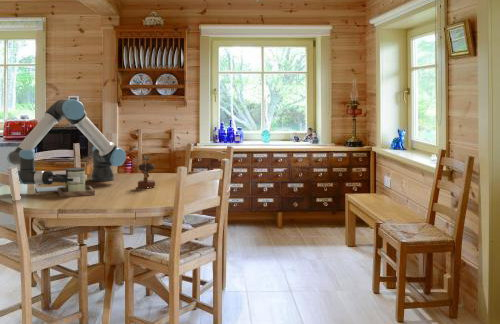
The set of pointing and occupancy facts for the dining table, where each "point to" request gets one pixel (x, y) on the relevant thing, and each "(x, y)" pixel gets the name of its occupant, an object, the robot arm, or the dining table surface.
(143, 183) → the bird automaton toy
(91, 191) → the square wooden tray
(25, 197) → the dining table surface
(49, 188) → the slate mat
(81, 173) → the coffee can
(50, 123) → the robot arm
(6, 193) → the dining table surface
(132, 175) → the dining table surface
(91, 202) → the dining table surface
